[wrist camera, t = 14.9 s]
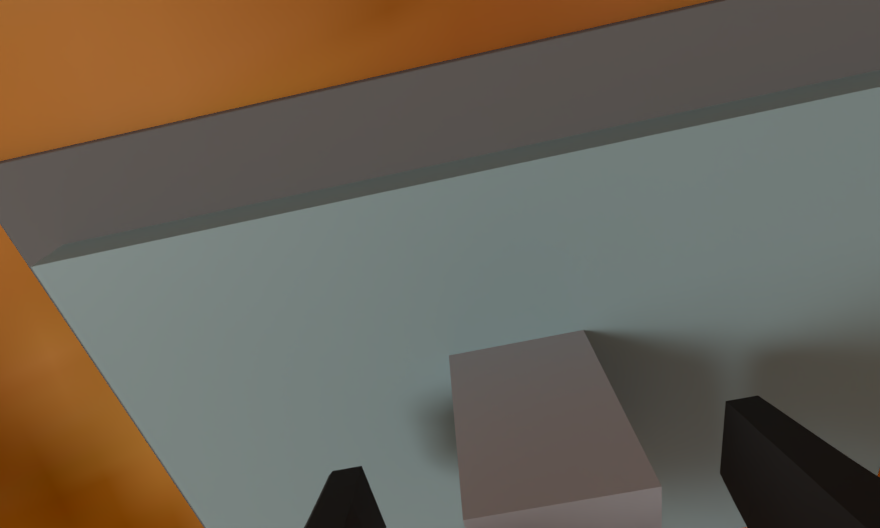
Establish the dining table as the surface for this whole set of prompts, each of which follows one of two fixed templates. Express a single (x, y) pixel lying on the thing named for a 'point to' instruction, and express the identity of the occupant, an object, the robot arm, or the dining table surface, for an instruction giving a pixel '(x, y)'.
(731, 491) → the robot arm
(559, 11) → the dining table surface
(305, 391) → the lid
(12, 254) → the dining table surface
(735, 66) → the mat
